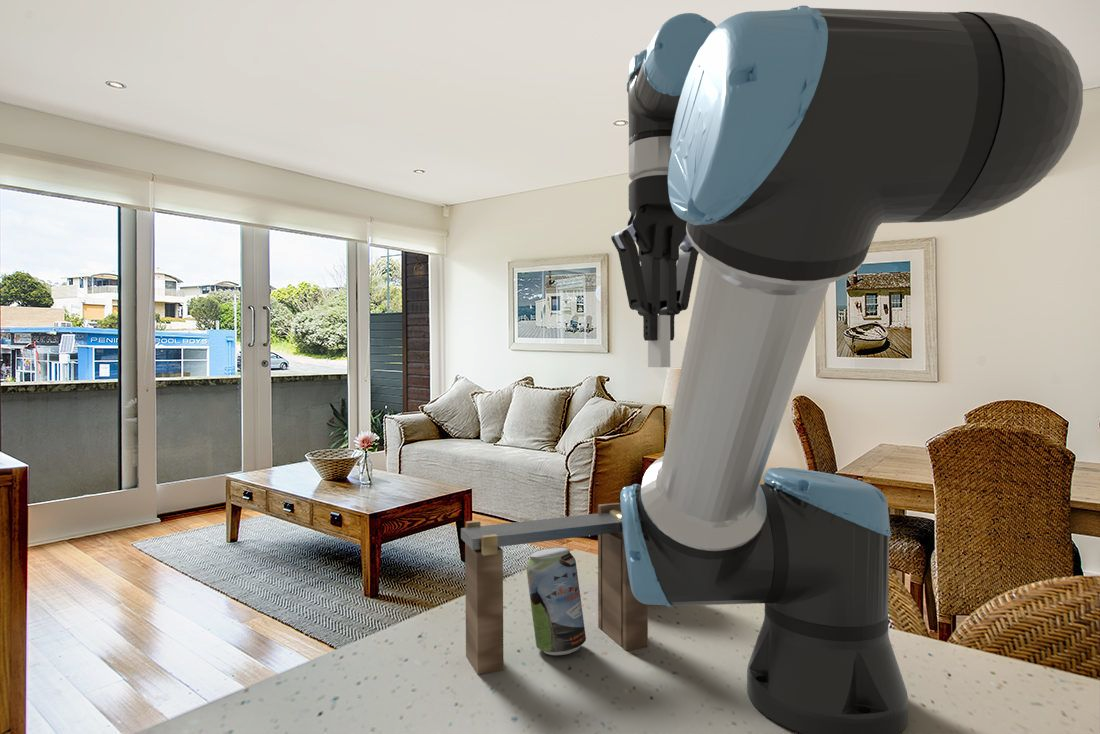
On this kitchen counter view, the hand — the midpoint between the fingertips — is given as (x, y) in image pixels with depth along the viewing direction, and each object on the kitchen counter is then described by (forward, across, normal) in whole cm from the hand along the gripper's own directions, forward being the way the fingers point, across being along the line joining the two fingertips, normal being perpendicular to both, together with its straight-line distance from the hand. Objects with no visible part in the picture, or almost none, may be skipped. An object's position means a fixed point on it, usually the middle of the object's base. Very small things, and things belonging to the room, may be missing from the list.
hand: (659, 366), depth 84 cm
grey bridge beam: (+20, +14, -2) cm, 25 cm away
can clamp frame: (+34, +14, -2) cm, 37 cm away
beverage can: (+34, +14, -2) cm, 37 cm away
